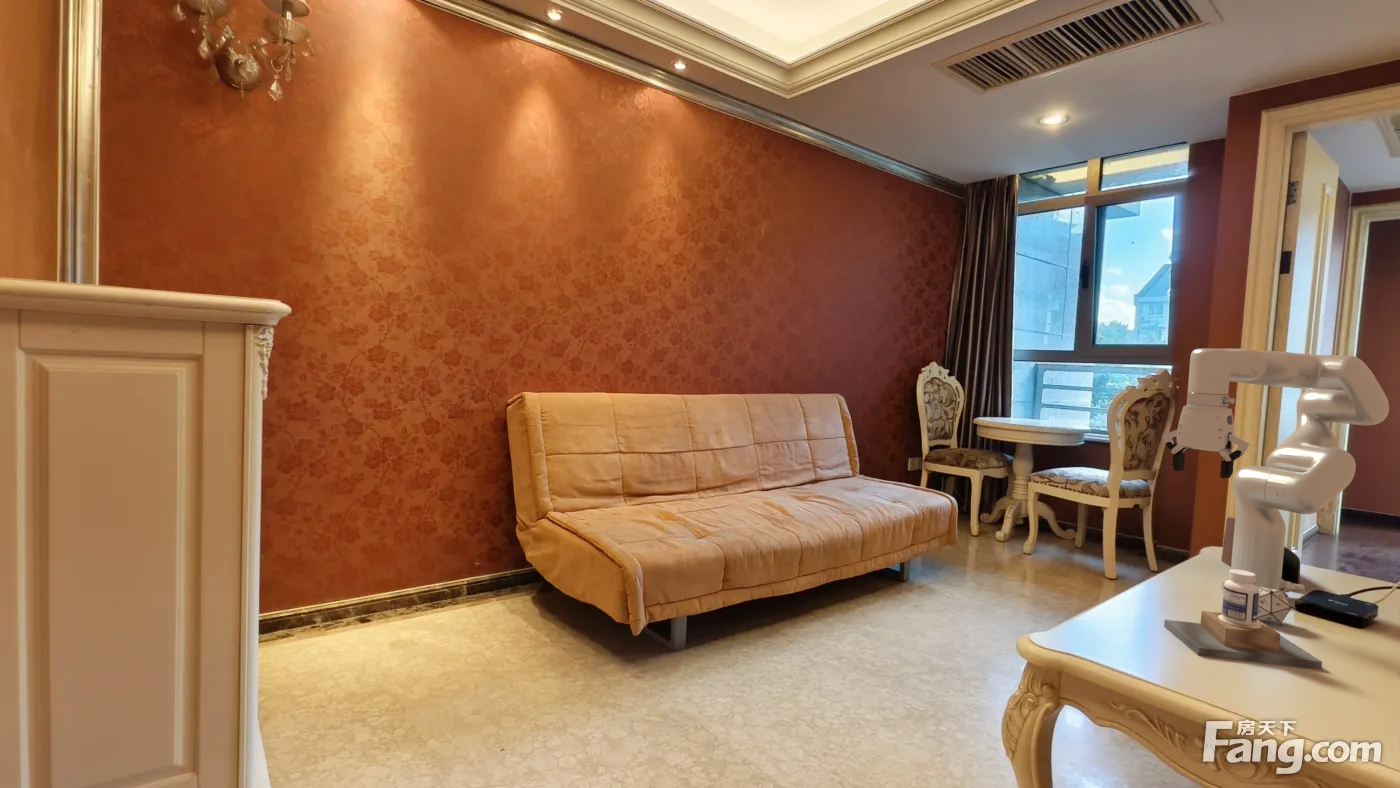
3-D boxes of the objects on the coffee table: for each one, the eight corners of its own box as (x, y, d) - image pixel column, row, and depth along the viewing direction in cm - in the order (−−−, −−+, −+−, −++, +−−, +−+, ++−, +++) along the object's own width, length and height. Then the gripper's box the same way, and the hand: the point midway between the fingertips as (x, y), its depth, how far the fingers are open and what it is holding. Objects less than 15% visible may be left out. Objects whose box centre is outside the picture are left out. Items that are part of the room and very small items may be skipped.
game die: (1271, 642, 142) (1280, 615, 137) (1229, 615, 149) (1236, 588, 144) (1299, 619, 144) (1309, 592, 138) (1256, 594, 151) (1264, 566, 145)
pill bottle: (1243, 616, 133) (1247, 568, 132) (1263, 627, 128) (1267, 577, 127) (1214, 614, 133) (1218, 567, 133) (1234, 625, 128) (1238, 576, 127)
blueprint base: (1273, 638, 135) (1275, 613, 135) (1321, 669, 122) (1323, 642, 121) (1164, 626, 140) (1165, 602, 139) (1198, 655, 126) (1200, 628, 126)
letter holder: (1252, 583, 171) (1256, 529, 170) (1220, 561, 190) (1224, 513, 189) (1299, 588, 168) (1304, 534, 167) (1263, 566, 186) (1267, 517, 186)
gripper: (1259, 404, 147) (1253, 480, 148) (1175, 398, 163) (1170, 467, 164) (1242, 404, 144) (1236, 482, 145) (1157, 398, 159) (1152, 468, 160)
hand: (1201, 474), depth 154 cm, fingers open, 9 cm apart
